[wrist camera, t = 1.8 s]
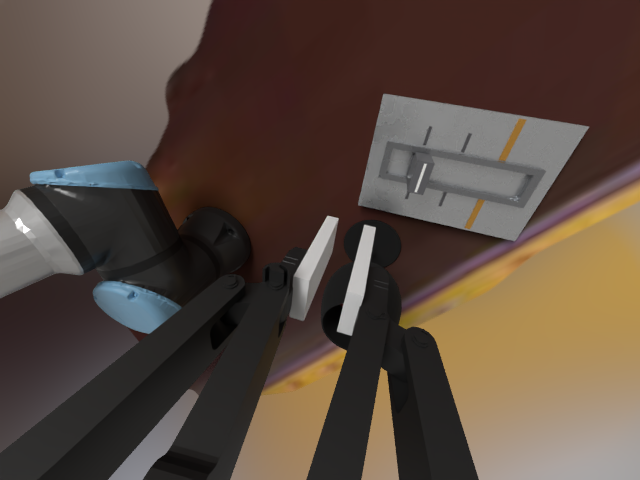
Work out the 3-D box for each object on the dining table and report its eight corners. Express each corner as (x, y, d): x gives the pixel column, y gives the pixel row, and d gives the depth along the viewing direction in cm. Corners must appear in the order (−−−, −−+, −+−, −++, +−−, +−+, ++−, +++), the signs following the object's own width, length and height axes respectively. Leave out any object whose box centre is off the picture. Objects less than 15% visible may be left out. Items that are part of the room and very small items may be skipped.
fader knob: (404, 177, 38) (405, 191, 33) (413, 149, 36) (415, 160, 31) (421, 180, 37) (424, 195, 32) (431, 153, 35) (436, 164, 30)
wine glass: (410, 257, 47) (416, 351, 30) (360, 274, 52) (340, 363, 35) (385, 210, 43) (375, 286, 27) (333, 232, 48) (299, 308, 32)
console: (359, 200, 44) (357, 207, 41) (384, 93, 35) (383, 93, 33) (510, 234, 40) (517, 244, 38) (579, 124, 31) (594, 127, 29)
